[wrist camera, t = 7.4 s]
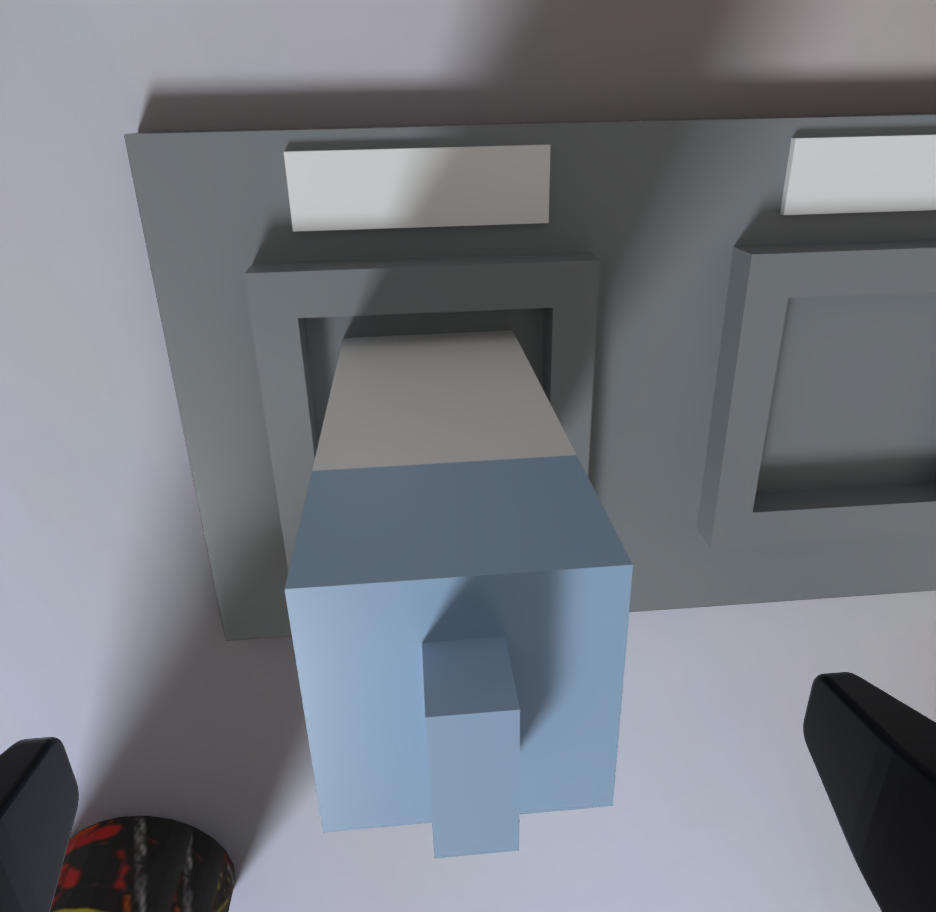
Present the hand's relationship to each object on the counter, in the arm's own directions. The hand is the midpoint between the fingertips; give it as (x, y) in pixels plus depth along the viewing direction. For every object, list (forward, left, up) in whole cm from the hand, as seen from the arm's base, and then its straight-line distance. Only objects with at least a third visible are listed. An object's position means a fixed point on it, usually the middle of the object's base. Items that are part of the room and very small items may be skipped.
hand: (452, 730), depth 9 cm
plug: (0, 0, -10) cm, 10 cm away
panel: (-6, 0, -11) cm, 13 cm away
